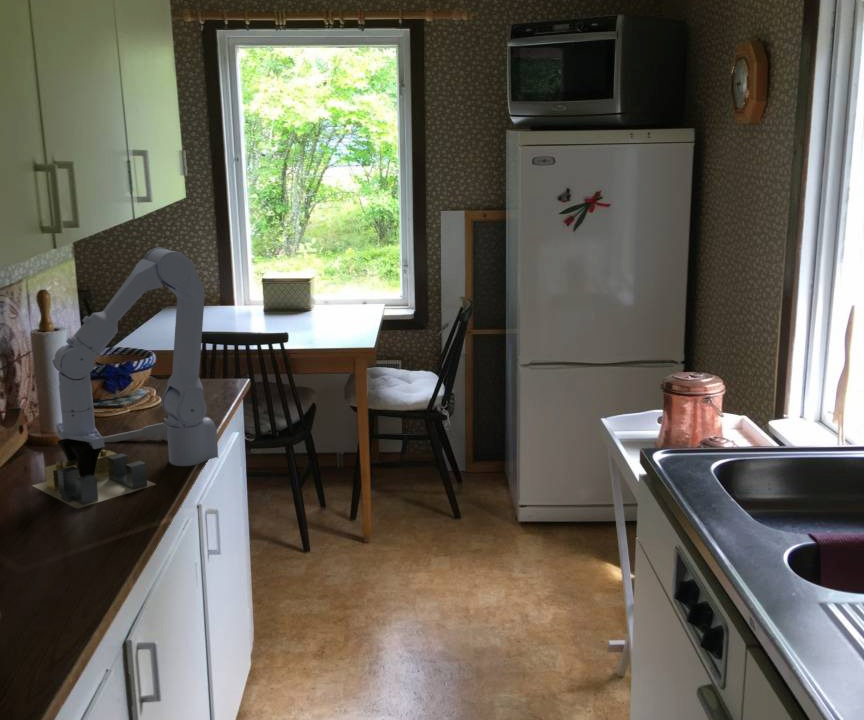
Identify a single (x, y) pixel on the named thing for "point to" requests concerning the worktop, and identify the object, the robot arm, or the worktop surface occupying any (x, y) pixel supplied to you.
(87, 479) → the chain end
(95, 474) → the master link
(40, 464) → the worktop surface
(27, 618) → the worktop surface
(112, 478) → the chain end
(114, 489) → the jig board
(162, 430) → the caliper
